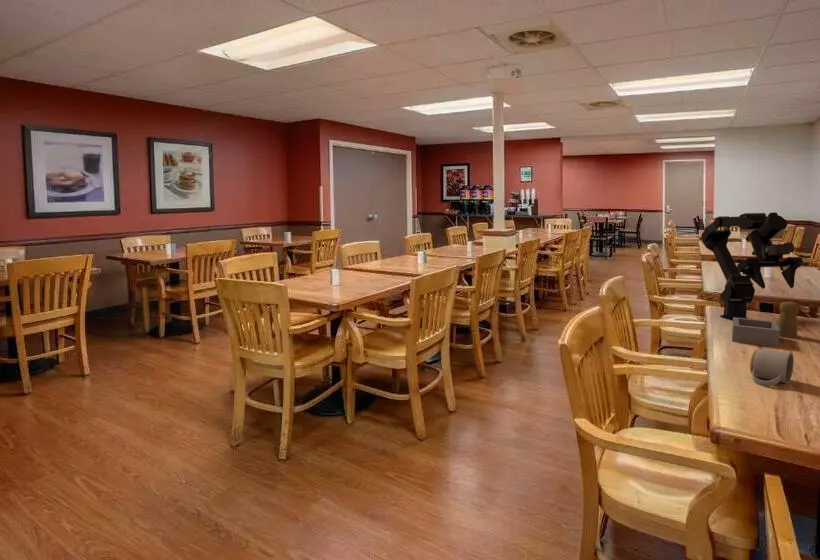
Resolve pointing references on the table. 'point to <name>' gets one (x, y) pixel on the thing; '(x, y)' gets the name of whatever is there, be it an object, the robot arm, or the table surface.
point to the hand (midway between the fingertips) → (778, 287)
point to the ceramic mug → (771, 366)
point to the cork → (788, 319)
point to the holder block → (755, 331)
